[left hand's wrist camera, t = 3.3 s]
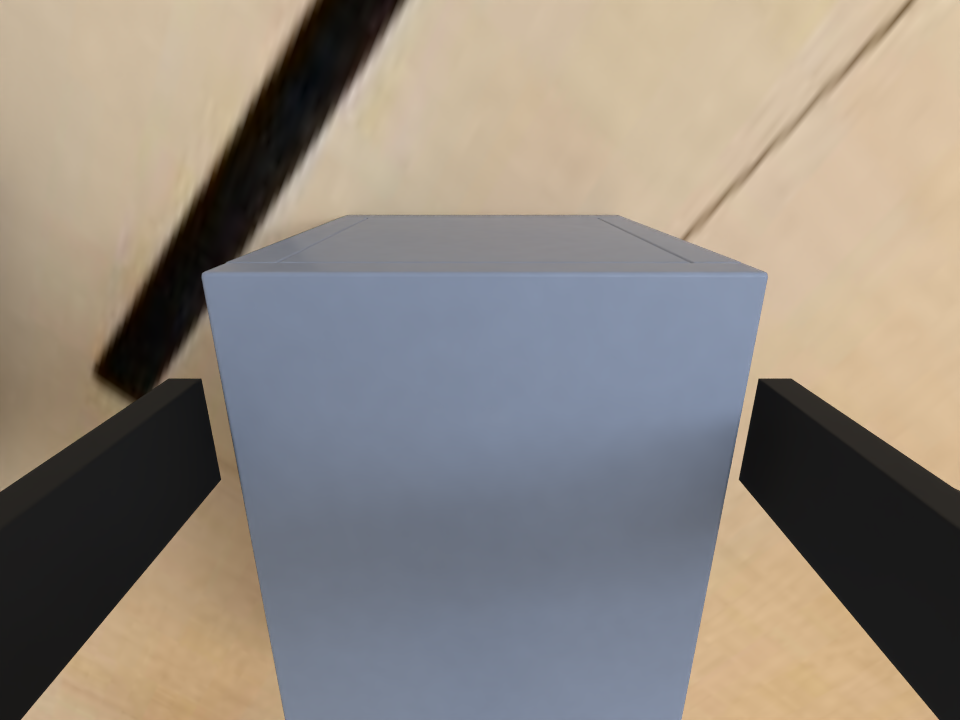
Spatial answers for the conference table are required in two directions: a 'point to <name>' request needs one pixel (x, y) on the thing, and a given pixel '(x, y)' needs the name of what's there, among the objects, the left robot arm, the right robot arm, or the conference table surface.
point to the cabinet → (483, 459)
